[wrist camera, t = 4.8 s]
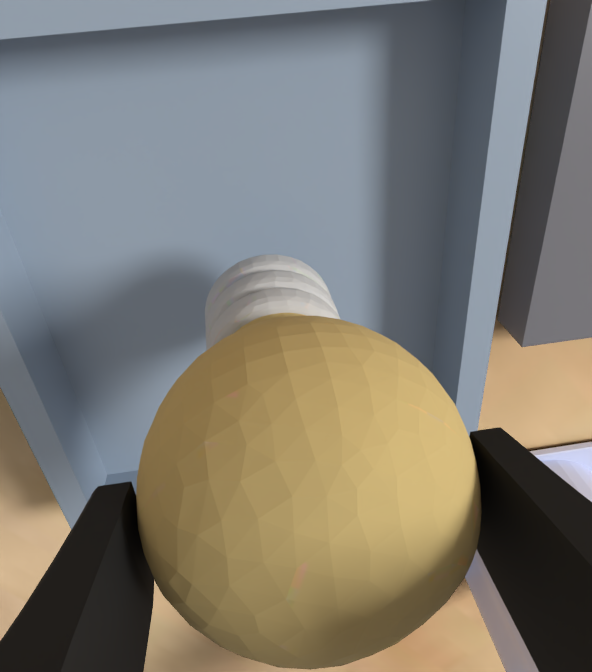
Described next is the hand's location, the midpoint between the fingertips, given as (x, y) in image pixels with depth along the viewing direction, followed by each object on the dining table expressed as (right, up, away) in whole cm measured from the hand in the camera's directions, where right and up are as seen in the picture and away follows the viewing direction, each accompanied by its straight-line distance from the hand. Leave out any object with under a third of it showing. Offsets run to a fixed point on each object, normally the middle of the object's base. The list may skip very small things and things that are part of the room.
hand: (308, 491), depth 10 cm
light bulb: (-1, +4, +6) cm, 7 cm away
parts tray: (-2, +5, +8) cm, 10 cm away
